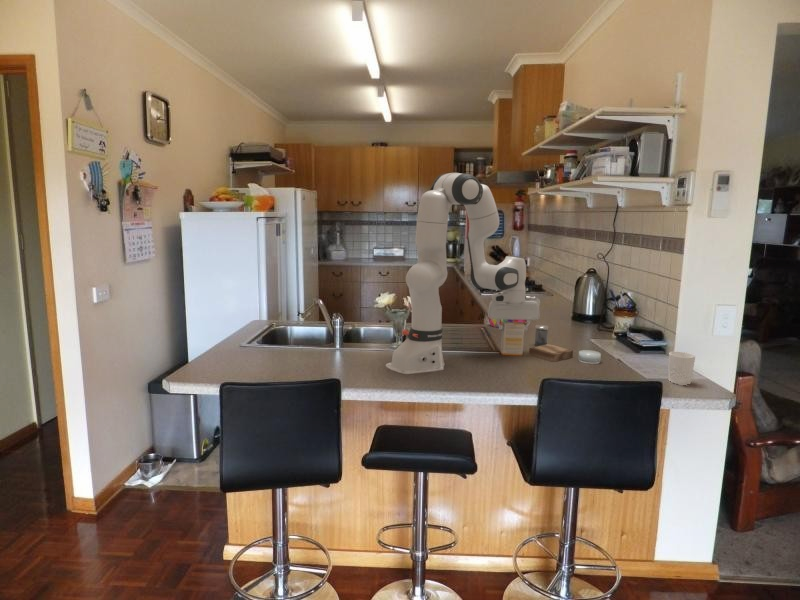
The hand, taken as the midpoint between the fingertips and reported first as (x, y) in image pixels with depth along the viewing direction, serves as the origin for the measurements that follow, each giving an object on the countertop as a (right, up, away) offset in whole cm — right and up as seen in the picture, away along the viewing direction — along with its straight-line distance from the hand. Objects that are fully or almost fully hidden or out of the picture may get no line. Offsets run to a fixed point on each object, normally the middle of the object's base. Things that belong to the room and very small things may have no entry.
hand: (513, 330), depth 211 cm
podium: (+15, -11, -1) cm, 18 cm away
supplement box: (-1, -10, +2) cm, 10 cm away
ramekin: (+28, -12, -7) cm, 31 cm away
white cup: (+50, -16, -31) cm, 61 cm away
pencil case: (+10, -1, +57) cm, 58 cm away
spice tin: (+15, -8, +15) cm, 23 cm away
